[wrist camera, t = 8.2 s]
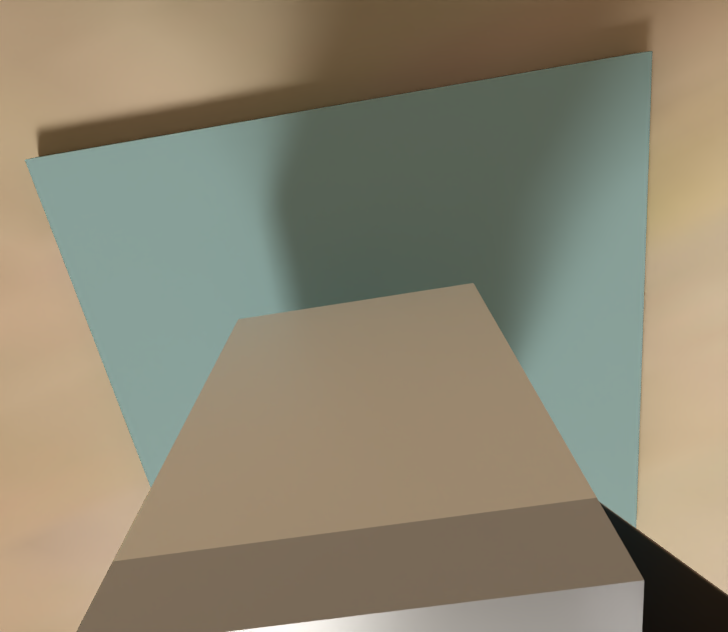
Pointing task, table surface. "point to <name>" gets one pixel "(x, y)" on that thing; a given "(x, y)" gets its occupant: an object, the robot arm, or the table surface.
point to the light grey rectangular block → (370, 489)
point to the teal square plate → (380, 239)
